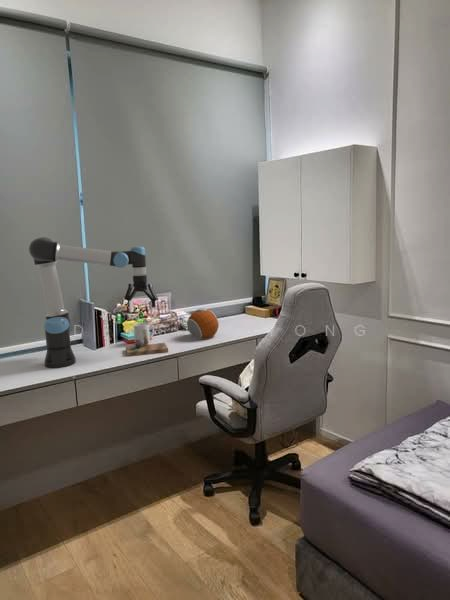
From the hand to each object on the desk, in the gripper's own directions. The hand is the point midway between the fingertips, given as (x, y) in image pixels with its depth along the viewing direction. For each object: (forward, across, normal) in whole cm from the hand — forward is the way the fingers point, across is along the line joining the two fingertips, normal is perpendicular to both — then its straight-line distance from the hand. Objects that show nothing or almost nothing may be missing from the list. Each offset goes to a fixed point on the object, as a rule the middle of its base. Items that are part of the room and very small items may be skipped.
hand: (142, 312), depth 266 cm
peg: (+19, 0, +6) cm, 20 cm away
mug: (+21, +7, -12) cm, 25 cm away
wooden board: (+21, -4, +4) cm, 22 cm away
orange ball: (+21, -22, -34) cm, 45 cm away
